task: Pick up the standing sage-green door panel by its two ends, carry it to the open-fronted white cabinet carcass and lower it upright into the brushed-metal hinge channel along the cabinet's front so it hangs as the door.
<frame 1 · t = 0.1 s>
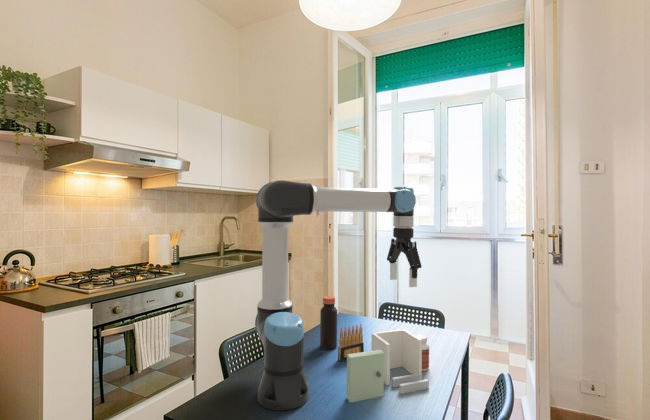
hand: (402, 283, 132), 28 cm above the table, fingers open, 13 cm apart
c clamp: (406, 349, 140), on the table
pill bottle: (419, 368, 122), on the table
cabinet: (396, 375, 116), on the table
door: (365, 397, 103), on the table
vinegar: (328, 347, 140), on the table
ammunition clip: (351, 358, 130), on the table
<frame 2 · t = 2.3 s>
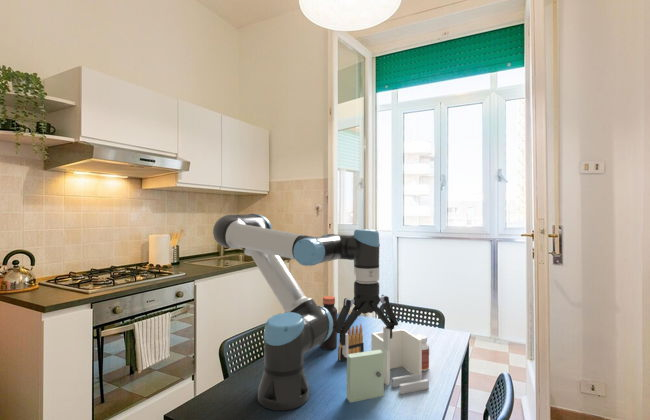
hand: (366, 352, 103), 13 cm above the table, fingers open, 13 cm apart
nothing on the table moved.
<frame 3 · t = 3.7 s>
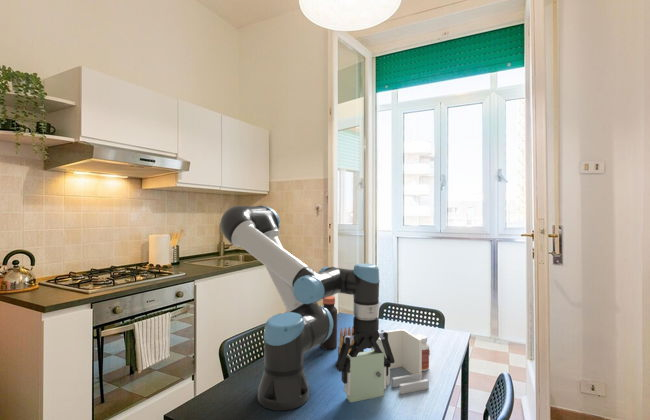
hand: (365, 389, 103), 2 cm above the table, fingers closed on door, 11 cm apart
door: (365, 396, 103), on the table, touching gripper
everything else where it was.
when the fingers open (3 cm above the table, at t = 8.9 s): door drops 1 cm, on the table.
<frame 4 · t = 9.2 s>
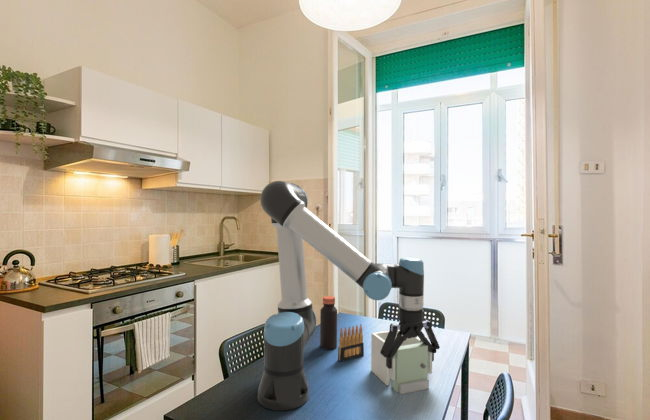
hand: (410, 374, 109), 4 cm above the table, fingers open, 13 cm apart
door: (410, 387, 109), on the table
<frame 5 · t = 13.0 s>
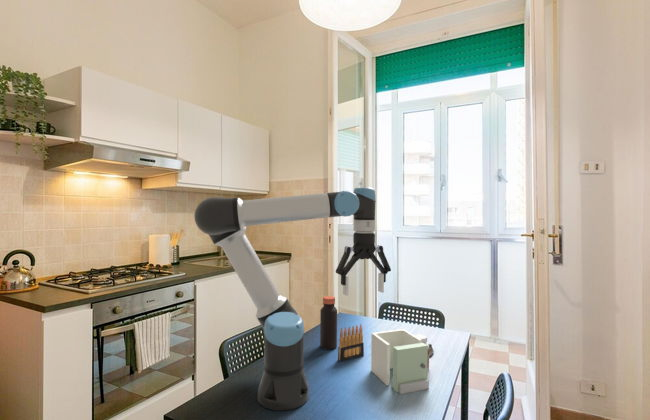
hand: (363, 293, 120), 27 cm above the table, fingers open, 13 cm apart
at the end: door 0.0 cm from the target spot on the cabinet, point 0.0 cm above the cabinet's base; door tilted 0°; the gripper is holding nothing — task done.
